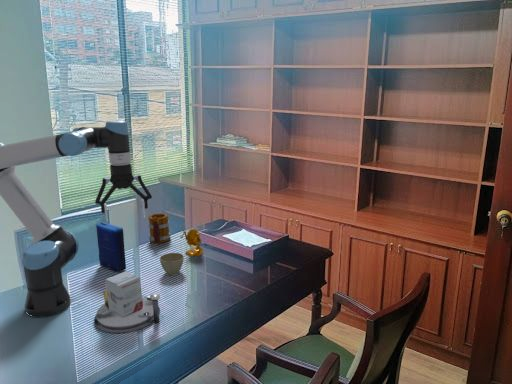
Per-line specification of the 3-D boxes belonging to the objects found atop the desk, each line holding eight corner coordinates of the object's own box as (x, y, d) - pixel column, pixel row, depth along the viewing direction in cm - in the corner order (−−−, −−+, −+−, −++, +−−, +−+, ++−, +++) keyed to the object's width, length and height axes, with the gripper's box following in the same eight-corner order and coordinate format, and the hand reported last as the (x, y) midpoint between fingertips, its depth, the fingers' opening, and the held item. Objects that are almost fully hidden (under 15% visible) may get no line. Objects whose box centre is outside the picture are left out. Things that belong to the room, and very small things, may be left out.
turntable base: (93, 339, 140) (90, 311, 138) (94, 306, 161) (91, 281, 158) (163, 325, 147) (161, 299, 145) (156, 296, 167) (154, 272, 165)
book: (97, 266, 195) (92, 223, 190) (108, 262, 199) (103, 220, 194) (118, 274, 187) (113, 229, 182) (128, 270, 191) (124, 226, 186)
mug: (172, 235, 232) (170, 208, 228) (168, 247, 216) (165, 217, 212) (151, 236, 232) (148, 209, 228) (145, 248, 216) (143, 218, 212)
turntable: (130, 334, 141) (128, 315, 139) (84, 321, 149) (81, 303, 147) (168, 306, 158) (167, 288, 156) (125, 295, 166) (123, 278, 165)
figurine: (180, 256, 205) (179, 231, 202) (193, 248, 214) (192, 224, 211) (196, 258, 201) (195, 233, 198) (208, 250, 211) (207, 226, 208)
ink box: (129, 300, 159) (126, 269, 156) (143, 307, 154) (140, 276, 151) (108, 309, 152) (104, 278, 150) (122, 318, 147) (118, 285, 144)
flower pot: (179, 278, 182) (178, 262, 180) (157, 277, 184) (155, 261, 182) (188, 268, 191) (187, 253, 189) (166, 267, 193) (165, 251, 191)
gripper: (83, 168, 154) (90, 225, 160) (156, 162, 162) (160, 217, 167) (84, 164, 161) (91, 219, 166) (154, 159, 169) (158, 212, 174)
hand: (125, 219), depth 167 cm, fingers open, 13 cm apart
